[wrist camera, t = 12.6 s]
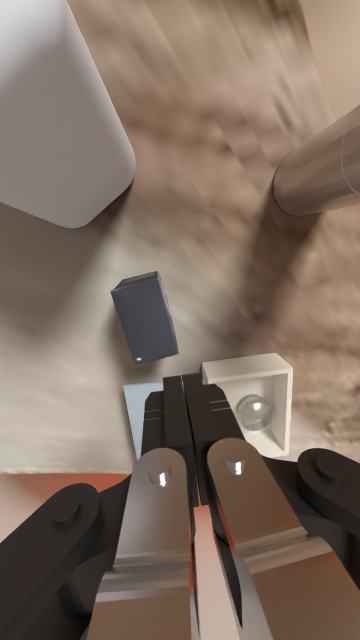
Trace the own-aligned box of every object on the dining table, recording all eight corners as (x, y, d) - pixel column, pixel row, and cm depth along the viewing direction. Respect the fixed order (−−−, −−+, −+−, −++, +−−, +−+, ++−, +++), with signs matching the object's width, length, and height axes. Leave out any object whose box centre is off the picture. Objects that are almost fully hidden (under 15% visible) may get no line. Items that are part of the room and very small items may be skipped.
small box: (175, 329, 42) (181, 355, 32) (139, 339, 42) (133, 368, 32) (159, 269, 39) (160, 277, 29) (119, 279, 39) (107, 291, 29)
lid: (123, 386, 39) (123, 384, 40) (138, 469, 44) (139, 467, 45) (203, 381, 38) (203, 379, 39) (209, 466, 44) (209, 464, 44)
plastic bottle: (148, 171, 35) (121, -79, 8) (71, 241, 36) (-163, 227, 10) (69, 62, 30) (-579, -1292, 4) (-14, 147, 32) (-864, -345, 5)
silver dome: (258, 388, 47) (264, 398, 44) (270, 410, 48) (277, 421, 45) (230, 403, 47) (235, 413, 44) (243, 424, 49) (249, 436, 46)
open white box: (275, 352, 45) (293, 367, 39) (273, 431, 50) (288, 454, 45) (201, 362, 44) (208, 379, 38) (207, 440, 50) (214, 466, 44)
